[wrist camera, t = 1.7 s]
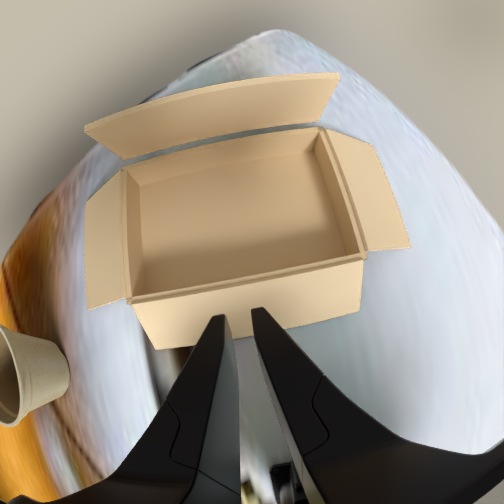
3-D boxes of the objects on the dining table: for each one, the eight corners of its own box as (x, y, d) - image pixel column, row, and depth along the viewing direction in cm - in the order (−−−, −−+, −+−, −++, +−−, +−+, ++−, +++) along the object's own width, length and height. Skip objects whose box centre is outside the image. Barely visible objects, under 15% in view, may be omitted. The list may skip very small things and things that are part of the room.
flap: (317, 121, 22) (340, 78, 15) (124, 160, 21) (83, 131, 14) (315, 116, 22) (338, 72, 14) (124, 155, 21) (84, 125, 14)
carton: (420, 292, 22) (444, 286, 18) (95, 354, 21) (71, 357, 18) (370, 143, 25) (382, 121, 22) (87, 200, 25) (67, 184, 21)
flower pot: (16, 339, 22) (-38, 335, 13) (62, 310, 22) (0, 300, 14) (44, 416, 19) (-9, 430, 11) (96, 399, 20) (38, 420, 12)
